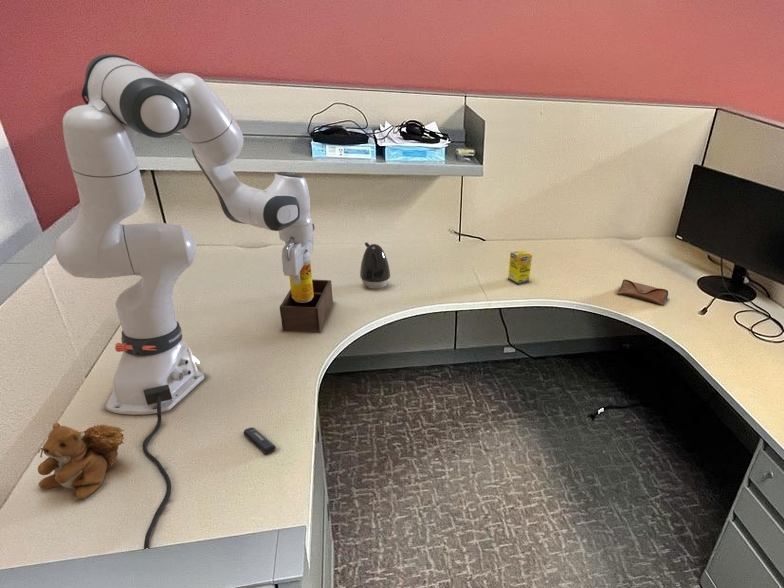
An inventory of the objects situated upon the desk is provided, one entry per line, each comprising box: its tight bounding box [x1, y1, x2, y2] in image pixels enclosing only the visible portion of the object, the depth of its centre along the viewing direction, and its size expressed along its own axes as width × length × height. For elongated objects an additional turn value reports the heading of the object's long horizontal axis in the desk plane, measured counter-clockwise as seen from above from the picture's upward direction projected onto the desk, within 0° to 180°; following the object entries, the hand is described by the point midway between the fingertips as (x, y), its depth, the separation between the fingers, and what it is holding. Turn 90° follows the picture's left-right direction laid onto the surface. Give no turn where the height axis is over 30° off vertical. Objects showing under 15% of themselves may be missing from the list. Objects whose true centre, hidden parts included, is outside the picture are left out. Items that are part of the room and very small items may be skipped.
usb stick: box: [243, 427, 276, 454], centre depth 123 cm, size 10×3×2 cm, turn 50°
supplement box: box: [507, 249, 533, 285], centre depth 211 cm, size 6×6×11 cm
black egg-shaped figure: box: [359, 241, 391, 290], centre depth 194 cm, size 10×10×15 cm
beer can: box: [288, 249, 314, 303], centre depth 162 cm, size 6×6×15 cm
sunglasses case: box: [616, 278, 669, 306], centre depth 211 cm, size 18×7×7 cm
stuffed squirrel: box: [37, 422, 125, 500], centre depth 107 cm, size 10×14×13 cm
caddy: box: [279, 278, 334, 334], centre depth 173 cm, size 20×11×8 cm, turn 5°
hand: (300, 278), depth 163 cm, fingers closed on beer can, 6 cm apart
